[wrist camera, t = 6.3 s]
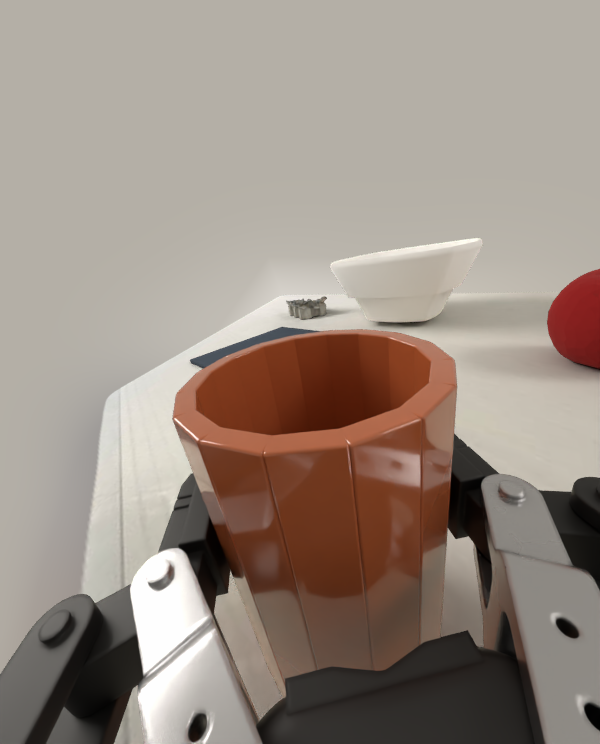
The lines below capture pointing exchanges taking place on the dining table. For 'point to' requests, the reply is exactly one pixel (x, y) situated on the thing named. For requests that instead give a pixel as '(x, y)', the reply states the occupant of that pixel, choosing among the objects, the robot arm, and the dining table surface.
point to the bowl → (406, 279)
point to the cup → (329, 490)
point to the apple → (577, 320)
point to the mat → (247, 345)
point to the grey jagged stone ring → (307, 308)
